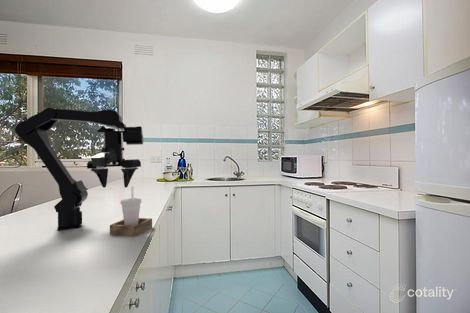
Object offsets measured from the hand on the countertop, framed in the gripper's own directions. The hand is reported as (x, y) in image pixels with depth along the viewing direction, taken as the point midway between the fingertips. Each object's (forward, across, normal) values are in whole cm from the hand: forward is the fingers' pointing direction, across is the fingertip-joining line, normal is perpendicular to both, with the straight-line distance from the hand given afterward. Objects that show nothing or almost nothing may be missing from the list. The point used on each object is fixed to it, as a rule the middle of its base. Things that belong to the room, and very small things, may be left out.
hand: (115, 187), depth 86 cm
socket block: (+13, +11, -7) cm, 19 cm away
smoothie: (+13, +11, -7) cm, 19 cm away
